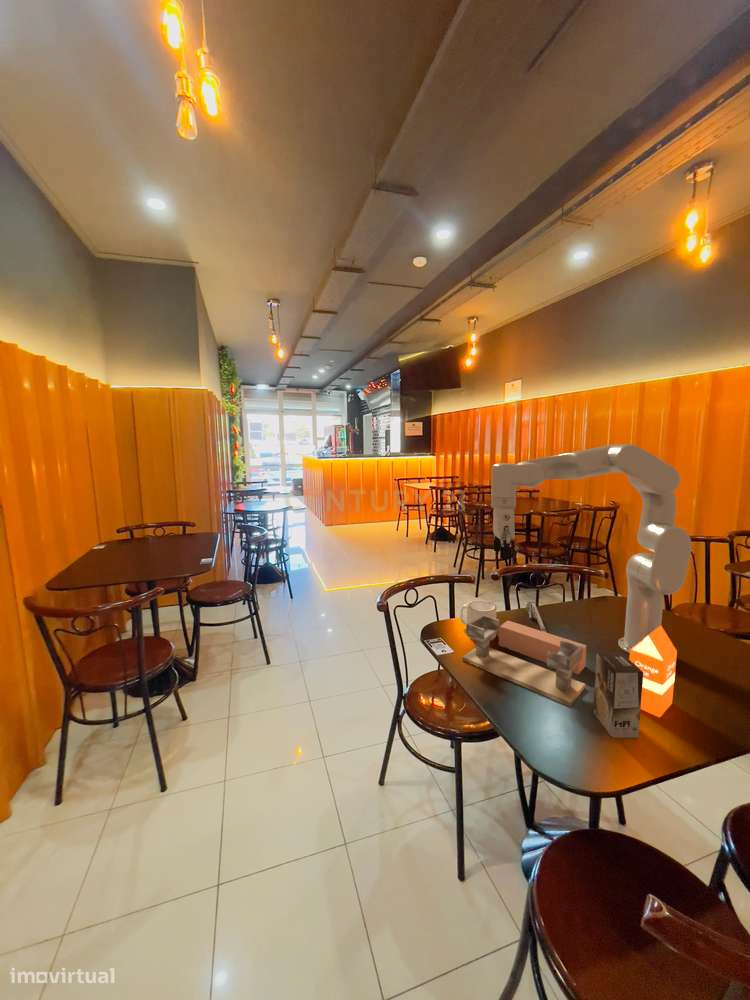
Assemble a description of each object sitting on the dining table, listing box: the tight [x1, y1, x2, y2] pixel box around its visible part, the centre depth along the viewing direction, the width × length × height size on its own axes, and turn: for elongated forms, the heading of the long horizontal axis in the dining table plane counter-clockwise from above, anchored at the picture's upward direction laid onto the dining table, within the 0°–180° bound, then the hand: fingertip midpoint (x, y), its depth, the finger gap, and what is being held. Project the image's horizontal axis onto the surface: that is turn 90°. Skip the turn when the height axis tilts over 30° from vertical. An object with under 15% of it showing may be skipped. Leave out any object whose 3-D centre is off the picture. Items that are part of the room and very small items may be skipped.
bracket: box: [525, 601, 548, 633], centre depth 145 cm, size 3×21×10 cm, turn 174°
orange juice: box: [628, 625, 678, 718], centre depth 102 cm, size 8×9×20 cm
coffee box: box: [592, 651, 644, 739], centre depth 95 cm, size 9×6×16 cm
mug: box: [459, 599, 497, 641], centre depth 142 cm, size 14×10×11 cm
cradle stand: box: [462, 615, 586, 707], centre depth 117 cm, size 32×11×12 cm, turn 45°
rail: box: [498, 620, 587, 675], centre depth 127 cm, size 25×6×7 cm, turn 45°
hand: (501, 554), depth 130 cm, fingers open, 9 cm apart
